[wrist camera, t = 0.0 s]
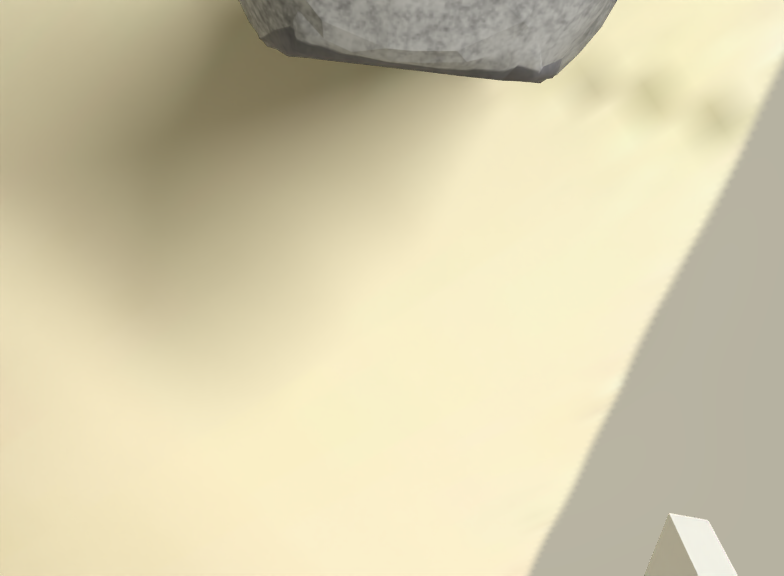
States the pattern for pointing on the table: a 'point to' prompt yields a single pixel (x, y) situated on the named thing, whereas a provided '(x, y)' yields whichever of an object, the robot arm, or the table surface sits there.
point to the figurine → (434, 33)
